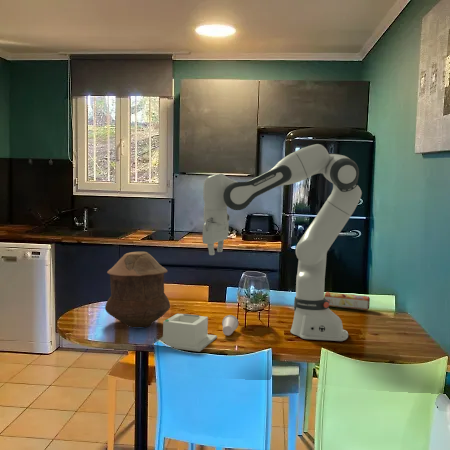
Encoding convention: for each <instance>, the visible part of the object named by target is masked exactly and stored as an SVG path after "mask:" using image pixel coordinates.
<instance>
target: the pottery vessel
mask: <svg viewBox="0 0 450 450" xmlns="http://www.w3.org/2000/svg"><path fill="white" fill-rule="evenodd" d="M106 273H107V274H108V275H109V281H110V296H109V298H108V299H107V300H106V303H105V306H104V309H105V311H106V313H107V314H109V315H110V316H111V317H113V318H115V319H116V320H118V321H119V322H121V323H123V324H125V325H126V326H127V325H128V326H127V327H129V326H130V327H129V328H133V327H144V328H149V327H151V326H152V325H153V323H155V322H156V321H157V320H159V319H160V318H162V317H163V316H164V315H165V314H166V313H167V312H168V311H169V310H170V309H171V303H170V300H169V298H168V296H167V295H166V293H165V274H166V273H168V269H166V267H164V266H162V265H161V264H160V263H159V262H158V261H157V260H156V259H155V257H153V256H152V255H151V254H150V253H149V252H147V251H131V252H127V253H125V254H123V256H121V257H120V258H119V260H118V261H116V263H114V265H113V266H112V267H111V268H110V269H108V270H107V272H106ZM148 326H149V327H148Z"/></svg>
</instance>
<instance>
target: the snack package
mask: <svg viewBox="0 0 450 450" xmlns="http://www.w3.org/2000/svg"><path fill="white" fill-rule="evenodd" d="M324 298H325V299H326V300H329V307H333V308H346V309H356V310H364V311H368V310H369V309H370V301H371V300H370V299H371V298H370V296H368V295H357V294H351V293H350V294H349V293H348V294H347V293H339V292H330V291H325V292H324Z"/></svg>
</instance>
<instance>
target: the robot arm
mask: <svg viewBox="0 0 450 450" xmlns="http://www.w3.org/2000/svg"><path fill="white" fill-rule="evenodd" d="M317 174H321V175H322V176H323V177H324V178H325V179H326V180H328V181H329V182H330V183H332V190H331V193H330V195H329V196H328V197H327V199H326V201H325V202H324V204H322V207H321V208H320V210H319V211H318V213H317V214H316V216H315V217H314V219H313V220H312V222H311V223H310V225H309V226H308V227H307V229H306V230H305V232H303V233H304V234H303V235H302V236H301V237H300V239H299V241H298V243H297V244H296V246H295V255H296V258H297V259H298V262H297V273H296V279H295V280H296V282H295V284H296V285H295V296H294V300H293V309H294V313H293V314H294V315H293V319H292V320H293V321H292V325H291V329H290V330H289V331H290V333H291V334H293V335H295V336H298V337H300V338H301V339H304V340H316V341H335V342H343V341H346V340H347V339H348V338H349V333H348V331H347V330H346V329H344V327H343V321H342V319H341V318H340V317H339V315H337V314H336V313H335V312H333V310H331V309H330V308H329V307H330V306H329V300H326V299H325V298H324V296H325V283H326V282H325V278H326V269H327V268H326V267H327V256H328V255H327V254H328V251H329V250H330V248H331V246H332V245H333V243H334V242H335V240H336V239H337V238H338V236H339V234H340V233H341V232H342V230H343V229H344V227H345V226H346V224H347V223H348V221H349V220H350V218H351V216H352V215H353V214H354V212H355V210H356V208H357V206H358V205H359V203H360V200H361V197H362V194H363V192H362V190H361V188H360V186H359V185H358V183H359V182H358V181H359V177H360V169H359V167H358V164H357V163H356V162H355V161H354V160H353V159H351V158H349V157H348V156H346V155H344V154H343V155H342V154H340V153H335V152H334V153H332V152H331V153H330V152H328V149H327V148H326V147H325V146H324V145H323V144H319V143H316V144H311V145H308V146H305V147H302V148H300V149H297V150H295V151H294V152H292V153H289V154H288V155H286V156H284V157H283V158H282V159H280V160H278V162H277V163H276V164H275V165H274V166H273V167H272V168H270V170H268V171H266V172H264V173H262V174H260V175H259V176H257V177H254V178H253V179H250V180H247V181H236V180H234V179H231V178H229V177H228V176H226V175H225V173H224V174H223V173H219V174H214V175H212V174H211V175H209V176H207V177H206V178H205V179H204V182H203V202H204V203H203V204H204V206H203V222H204V224H203V226H202V237H201V238H202V243H203V244H204V245H207V250H208V255H209V256H214V255H216V252H217V253H222V252H223V249H224V248H223V247H224V242H225V240H227V239H228V237H229V229H230V228H229V224H230V223H229V221H230V220H231V216H230V214H229V213H228V210H227V209H228V208H229V209H230V210H233V211H242V210H244V209H245V208H248V207H249V205H250V204H251V203H252V201H253V200H254V199H256V198H257V197H259V196H260V195H263V194H264V193H267V192H269V191H271V190H273V189H274V188H275V189H276V188H277V187H281V186H288V185H292V184H293V185H294V184H297V183H299V182H302V181H304V180H307V179H308V178H310V177H312V176H314V175H317ZM215 243H217V247H216V251H215V248H214V247H215Z"/></svg>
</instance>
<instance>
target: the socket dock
mask: <svg viewBox="0 0 450 450" xmlns="http://www.w3.org/2000/svg"><path fill="white" fill-rule="evenodd" d="M162 324H163V325H162V336H161V337H160V338H159V339H157V340H161V341H163V342H165V343H166V344H168V345H170V346H171V347H174V348H173V349H177V350H185V351H191V352H192V351H193V352H201V351H203V350H204V349H205V348H206V347H207V346H208V345H210V344H211V343H212V342H213V341H215V340H216V339H217V338H218V335H215V334H208V332H209V331H208V328H209V327H208V326H209V325H208V324H209V317H208V316H202V315H199V314H198V315H197V314H191V313H190V314H189V313H176V314H174V315H172V316H171V317H169V318H166V319H164V320H163V321H162ZM151 346H154V342H152V345H151Z"/></svg>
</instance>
